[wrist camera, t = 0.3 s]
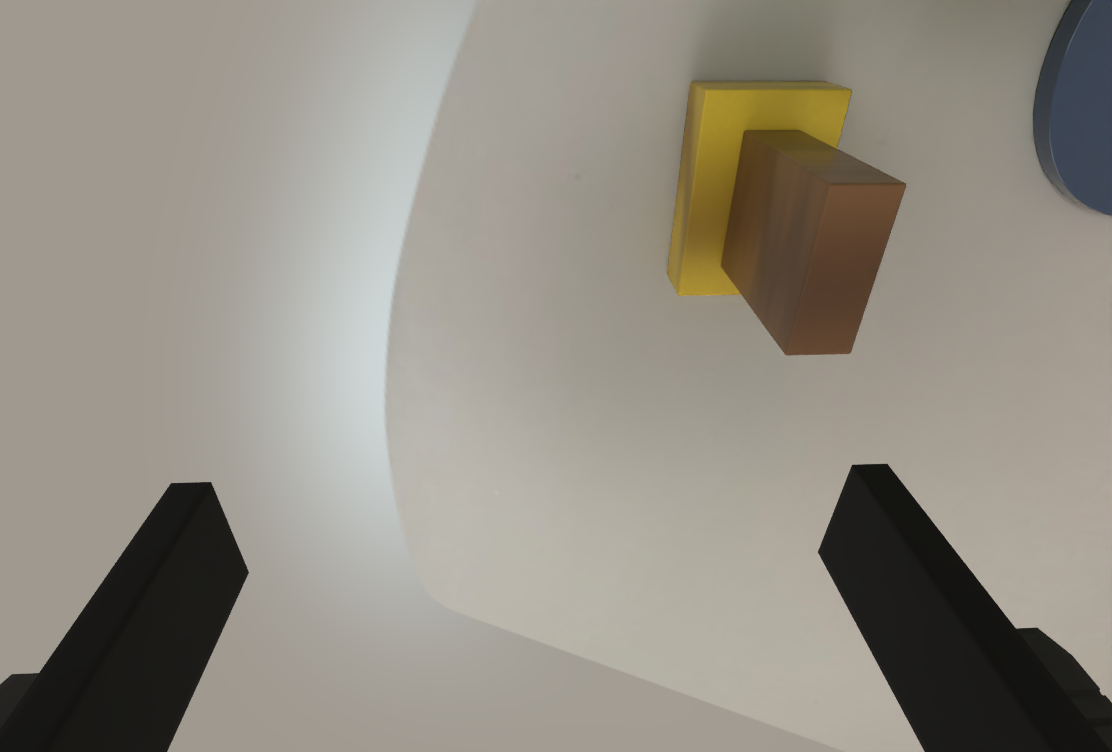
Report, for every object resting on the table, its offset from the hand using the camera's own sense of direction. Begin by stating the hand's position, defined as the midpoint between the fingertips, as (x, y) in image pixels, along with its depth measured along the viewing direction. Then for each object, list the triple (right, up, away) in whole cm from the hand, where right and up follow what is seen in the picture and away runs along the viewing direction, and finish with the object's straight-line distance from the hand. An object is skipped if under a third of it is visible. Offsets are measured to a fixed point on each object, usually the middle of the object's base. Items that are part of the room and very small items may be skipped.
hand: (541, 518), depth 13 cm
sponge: (+9, +12, +15) cm, 22 cm away
